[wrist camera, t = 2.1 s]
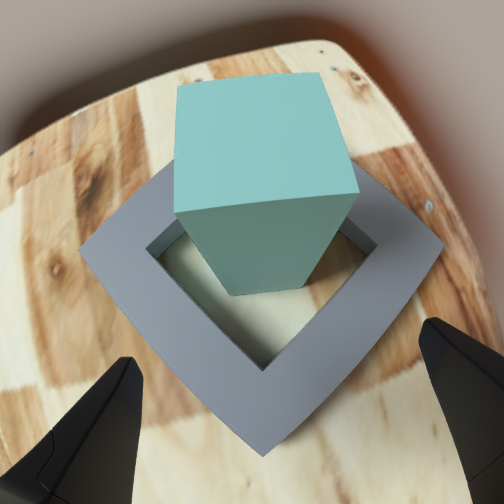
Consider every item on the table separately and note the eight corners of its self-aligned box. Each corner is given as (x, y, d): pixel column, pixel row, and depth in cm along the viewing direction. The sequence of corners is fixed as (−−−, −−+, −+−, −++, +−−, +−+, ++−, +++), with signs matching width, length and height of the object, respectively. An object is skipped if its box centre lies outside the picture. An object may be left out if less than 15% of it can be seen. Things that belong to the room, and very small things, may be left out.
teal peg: (301, 287, 21) (360, 192, 8) (230, 296, 21) (174, 212, 8) (291, 221, 23) (319, 72, 9) (224, 229, 23) (177, 86, 9)
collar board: (430, 254, 22) (445, 244, 19) (262, 445, 18) (262, 457, 16) (259, 113, 26) (258, 95, 24) (93, 259, 22) (77, 250, 20)
